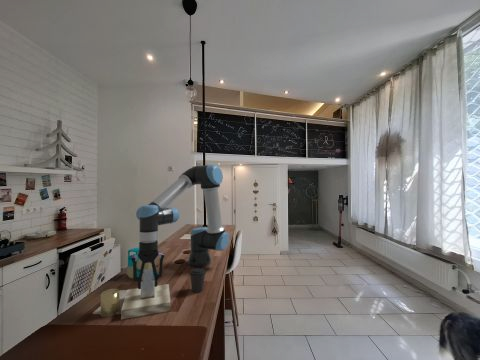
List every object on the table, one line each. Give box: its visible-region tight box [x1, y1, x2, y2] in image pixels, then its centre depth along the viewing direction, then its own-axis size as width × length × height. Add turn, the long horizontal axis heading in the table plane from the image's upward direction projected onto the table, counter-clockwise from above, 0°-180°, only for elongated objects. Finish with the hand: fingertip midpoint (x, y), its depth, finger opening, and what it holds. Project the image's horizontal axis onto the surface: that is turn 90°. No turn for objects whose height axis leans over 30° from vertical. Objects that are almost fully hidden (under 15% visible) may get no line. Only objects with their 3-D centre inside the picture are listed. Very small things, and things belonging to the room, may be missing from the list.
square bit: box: [142, 269, 153, 299], centre depth 97 cm, size 4×4×12 cm
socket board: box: [120, 283, 171, 321], centre depth 97 cm, size 18×18×4 cm
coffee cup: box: [189, 267, 207, 294], centre depth 109 cm, size 8×8×10 cm
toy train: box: [126, 246, 159, 279], centre depth 126 cm, size 8×17×15 cm, turn 71°
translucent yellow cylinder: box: [99, 288, 120, 318], centre depth 90 cm, size 6×6×8 cm
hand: (147, 294), depth 97 cm, fingers closed on square bit, 4 cm apart
